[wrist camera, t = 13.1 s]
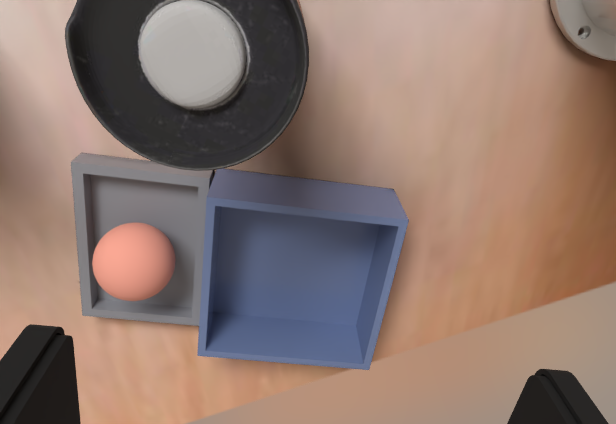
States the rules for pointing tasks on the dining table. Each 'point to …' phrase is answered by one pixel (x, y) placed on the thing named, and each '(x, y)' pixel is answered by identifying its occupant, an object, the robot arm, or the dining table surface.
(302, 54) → the travel mug
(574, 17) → the robot arm
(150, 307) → the tray
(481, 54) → the dining table surface
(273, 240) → the blue storage bin
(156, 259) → the ball
